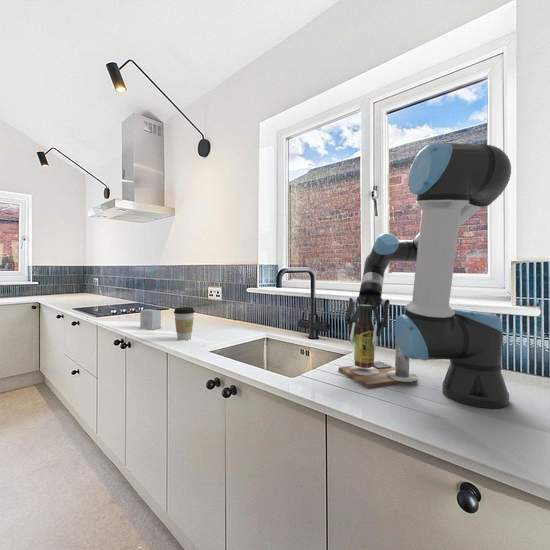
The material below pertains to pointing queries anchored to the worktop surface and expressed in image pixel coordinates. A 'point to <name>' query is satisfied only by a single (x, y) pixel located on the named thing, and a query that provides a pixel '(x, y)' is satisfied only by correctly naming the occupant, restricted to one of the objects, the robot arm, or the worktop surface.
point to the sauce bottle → (364, 338)
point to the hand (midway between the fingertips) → (362, 342)
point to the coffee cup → (184, 322)
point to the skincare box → (150, 319)
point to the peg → (401, 363)
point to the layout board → (376, 375)
